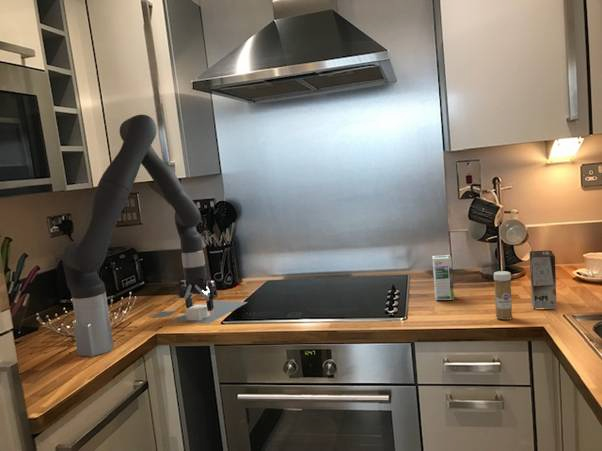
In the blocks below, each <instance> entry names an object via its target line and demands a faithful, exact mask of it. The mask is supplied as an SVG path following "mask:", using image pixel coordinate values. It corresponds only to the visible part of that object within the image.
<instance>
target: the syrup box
mask: <svg viewBox="0 0 602 451" xmlns="http://www.w3.org/2000/svg"><path fill="white" fill-rule="evenodd" d="M431 259H432V270H433V284H434V285H433V286H434V287H433V288H434V297H435V301H436V300H454V301H455V295H454V280H453V279H454V278H453V264H452V256H451V255H450V254H446V255H445V254H444V255H432V257H431Z"/></svg>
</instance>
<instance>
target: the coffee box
mask: <svg viewBox="0 0 602 451" xmlns="http://www.w3.org/2000/svg"><path fill="white" fill-rule="evenodd" d="M529 268H530V269H529V270H530V275H529V276H530V297H531V304H533V305H532V308H533V309H534V308H544V309H545V308H546V309H556V310H557V284H556V281H557V280H556V276H557V275H556V256H555V254H554V253H553V251H552V250H531V251H529Z"/></svg>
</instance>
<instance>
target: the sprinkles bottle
mask: <svg viewBox="0 0 602 451" xmlns="http://www.w3.org/2000/svg"><path fill="white" fill-rule="evenodd" d="M511 280H512V274H511V272H510V271H505V270H504V271H503V270H499V271H495V272H493V281H494V306H495V318H496V317H497V318H499V319H510V318H512V319H513V310H512V309H513V308H512V307H513V305H512V304H513V300H512V287H511V285H512V283H511ZM497 318H496V319H497ZM499 319H498V320H499ZM510 320H511V319H510Z"/></svg>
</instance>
